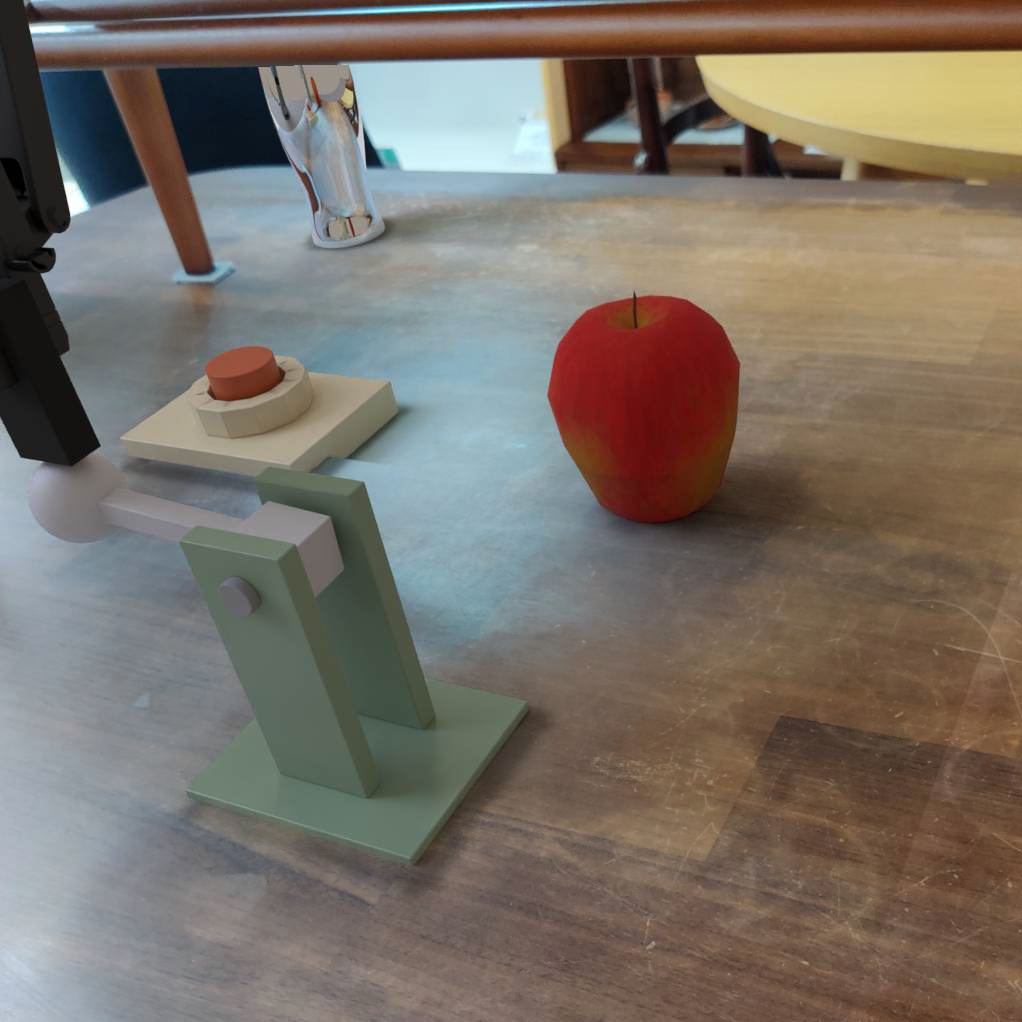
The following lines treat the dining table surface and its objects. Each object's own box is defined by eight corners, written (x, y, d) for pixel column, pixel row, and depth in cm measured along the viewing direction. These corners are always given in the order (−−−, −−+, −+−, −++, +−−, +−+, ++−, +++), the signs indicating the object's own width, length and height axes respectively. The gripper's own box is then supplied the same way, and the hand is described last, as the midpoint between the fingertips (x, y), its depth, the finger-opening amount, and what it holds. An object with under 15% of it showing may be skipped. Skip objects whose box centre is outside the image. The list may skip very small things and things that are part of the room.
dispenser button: (201, 400, 71) (190, 373, 70) (244, 369, 74) (234, 343, 73) (253, 407, 69) (243, 380, 68) (295, 375, 72) (286, 348, 71)
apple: (749, 459, 65) (734, 243, 58) (750, 554, 58) (733, 323, 51) (581, 470, 66) (544, 260, 59) (562, 566, 60) (518, 341, 52)
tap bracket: (195, 813, 49) (64, 558, 41) (326, 674, 55) (234, 428, 47) (419, 883, 45) (322, 613, 37) (534, 724, 51) (472, 463, 43)
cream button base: (132, 469, 73) (106, 410, 70) (238, 392, 80) (217, 335, 77) (301, 498, 68) (280, 436, 65) (399, 412, 75) (383, 353, 72)
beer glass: (362, 214, 105) (312, 26, 95) (406, 229, 100) (358, 34, 91) (293, 241, 101) (234, 49, 92) (335, 257, 97) (278, 58, 88)
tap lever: (28, 550, 47) (-10, 472, 45) (94, 501, 49) (62, 425, 47) (301, 629, 42) (276, 547, 40) (359, 571, 45) (339, 490, 43)
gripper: (-533, -374, 24) (-6, 565, 39) (-27, -392, 33) (248, 380, 48) (-702, -323, 27) (-154, 533, 42) (-197, -352, 36) (111, 364, 51)
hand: (60, 451), depth 45 cm, fingers closed
